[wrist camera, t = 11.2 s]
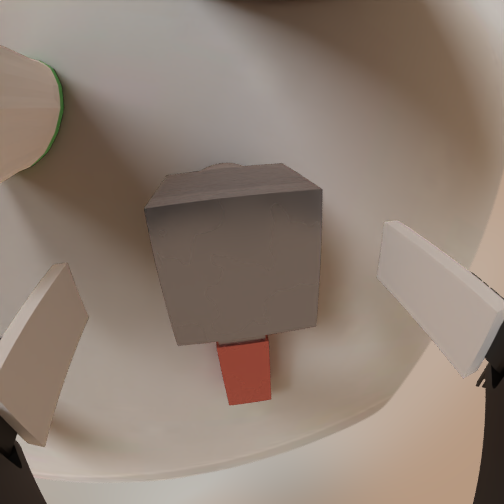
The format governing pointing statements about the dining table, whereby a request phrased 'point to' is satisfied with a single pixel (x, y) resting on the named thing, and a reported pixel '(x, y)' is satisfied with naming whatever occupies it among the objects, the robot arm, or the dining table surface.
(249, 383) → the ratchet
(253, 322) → the grey wooden cube
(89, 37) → the dining table surface
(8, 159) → the cup
